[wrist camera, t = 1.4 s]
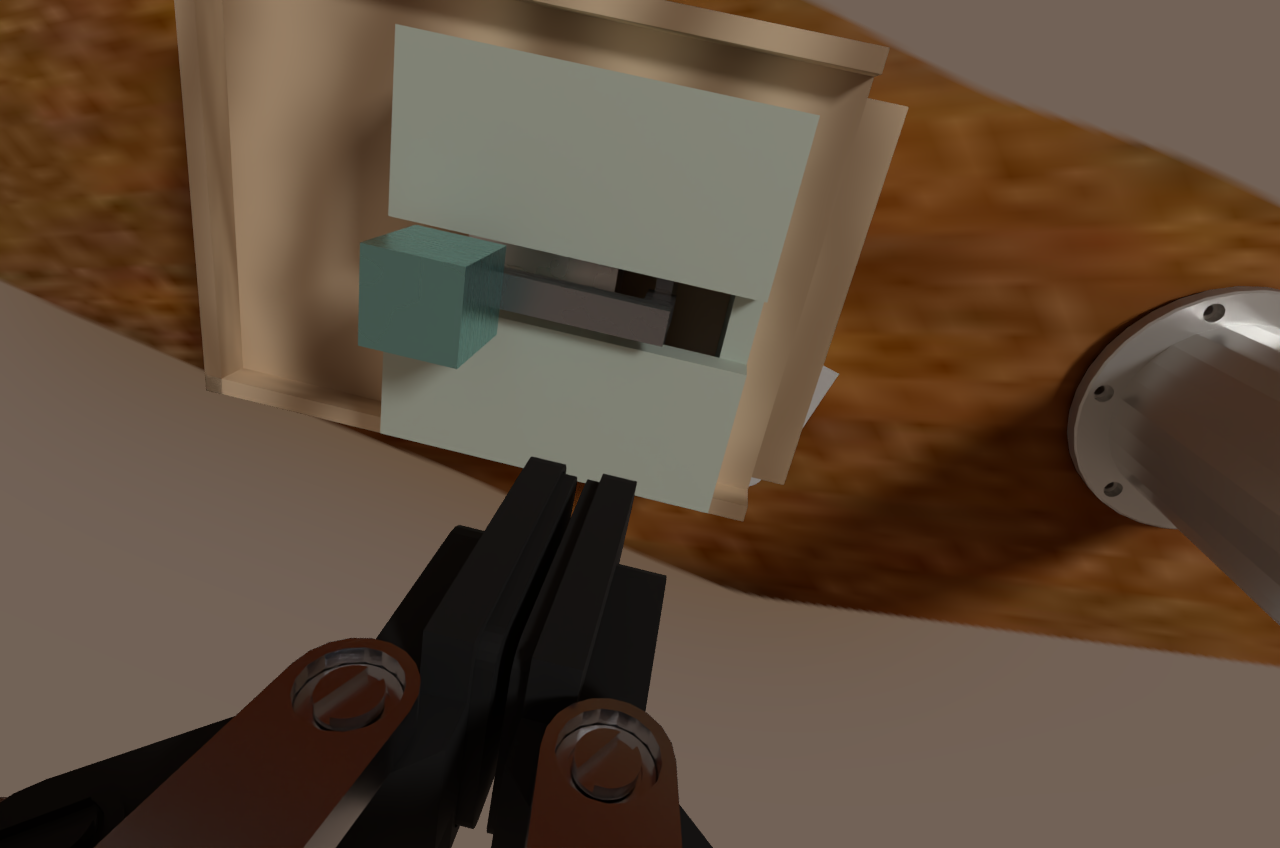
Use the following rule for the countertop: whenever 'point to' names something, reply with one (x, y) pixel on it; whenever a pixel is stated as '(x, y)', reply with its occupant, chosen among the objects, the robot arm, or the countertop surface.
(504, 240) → the pale green panels
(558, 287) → the bar
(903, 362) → the countertop surface
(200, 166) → the shallow beige tray
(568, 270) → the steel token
